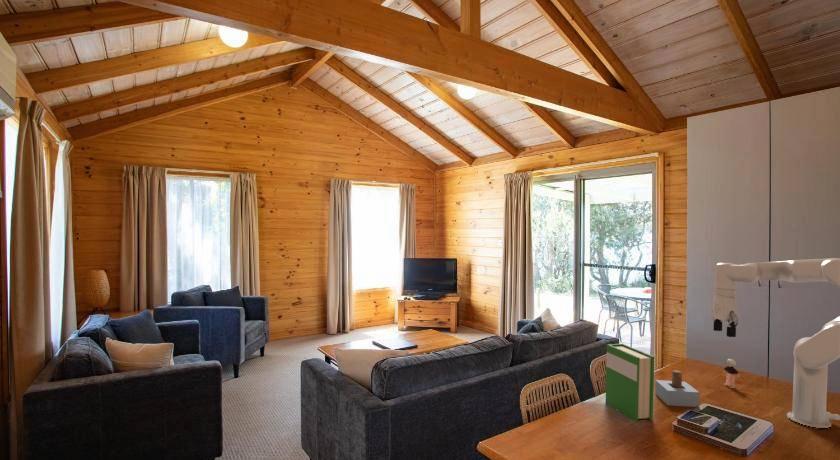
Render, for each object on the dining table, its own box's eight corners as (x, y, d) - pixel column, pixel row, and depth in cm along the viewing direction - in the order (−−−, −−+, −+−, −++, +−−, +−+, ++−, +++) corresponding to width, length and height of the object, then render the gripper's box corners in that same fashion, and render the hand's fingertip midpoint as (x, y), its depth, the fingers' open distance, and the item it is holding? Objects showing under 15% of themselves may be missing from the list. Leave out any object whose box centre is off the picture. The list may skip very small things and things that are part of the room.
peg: (678, 398, 188) (679, 370, 188) (682, 402, 184) (683, 373, 184) (669, 398, 188) (670, 370, 188) (673, 401, 185) (674, 373, 184)
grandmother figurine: (719, 384, 205) (719, 357, 205) (724, 383, 207) (725, 356, 207) (736, 390, 198) (737, 362, 198) (742, 389, 200) (743, 361, 200)
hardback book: (652, 420, 167) (654, 356, 167) (635, 421, 166) (637, 357, 165) (621, 401, 184) (622, 343, 184) (605, 402, 183) (606, 344, 182)
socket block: (684, 395, 192) (685, 381, 191) (698, 407, 180) (699, 392, 180) (655, 393, 193) (655, 380, 193) (667, 405, 181) (667, 390, 181)
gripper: (704, 289, 194) (703, 328, 195) (727, 295, 177) (726, 338, 177) (723, 289, 193) (722, 329, 194) (748, 296, 176) (746, 339, 176)
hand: (724, 333), depth 186 cm, fingers open, 9 cm apart
